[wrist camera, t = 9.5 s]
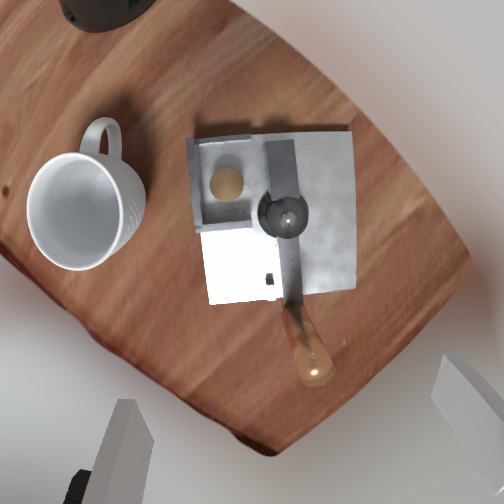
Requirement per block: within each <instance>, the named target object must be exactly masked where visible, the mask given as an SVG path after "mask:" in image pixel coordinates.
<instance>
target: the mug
mask: <svg viewBox="0 0 504 504" xmlns="http://www.w3.org/2000/svg"><path fill="white" fill-rule="evenodd" d="M105 128H106V130H107V135H108V142H109V152H108V155H106V154H102V153H99V149H100V141H101V136H102V133H103V131H104V129H105ZM121 154H122V138H121V131H120V127H119V125H118V123H117V122H116V121H115V120H114V119H112V118H107V117H102V118H98V119H96V120H95V121H93V122H92V123H91V124H90V126H89V127H88V129H87V130H86V132H85V134H84V136H83V139H82V142H81V145H80V152H70V153H65V154H61V155H58V156H56V157H54V158H52V159H51V160H49V161H48V162H47V163H46V164H45V165H44V166H43V167H42V168H41V169H40V170H39V171H38V173H37V174H36V176H35V178H34V180H33V182H32V184H31V187H30V190H29V194H28V199H27V219H28V225H29V229H30V232H31V235H32V237H33V240H34V242H35V244H36V245H37V247H38V248H39V250H40V251H41V252H42V254H43V255H44V256H45V257H46V258H48V259H49V260H50V261H51V262H53V263H54V264H56V265H58V266H60V267H62V268H65V269H69V270H86V269H90V268H93V267H95V266H97V265H99V264H101V263H102V262H104V261H105V260H106V259H107V258H108V257H110V256H111V255H113V254H114V253H115V252H116V251H118V250H119V249H120V248H121V247H122V246H124V244H125V243H126V242H128V241H129V239H130V238H131V237H132V236H133V234H134V232H135V231H136V230H137V228H138V227H139V225H140V223H141V221H142V218H143V215H144V211H145V206H146V195H145V194H146V193H145V189H144V185H143V183H142V181H141V179H140V177H139V176H138V174H137V173H136V172H135V171H134V170H133V168H131V167H130V166H129V165H128V164H126V163H125V162H123V161H122V160H121Z"/></svg>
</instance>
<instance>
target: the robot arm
mask: <svg viewBox="0 0 504 504" xmlns="http://www.w3.org/2000/svg"><path fill="white" fill-rule="evenodd" d="M155 1H156V0H59V2H60V6H61V9H62V12H63V14H64V16H65V18H66V19H67V20H68V21H69V22H70V23H71V24H72V25H74V26H75V27H76V28H78V29H79V30H82V31H85V32H91V33H99V32H106V31H110V30H113V29H116V28H119V27H121V26H124V25H126V24H128V23H129V22H131V21H133V20H134V19H136V18H138V17H139V16H140V15H142V14H143V13H144V12H145V11H146V10H147V9H148V8H149V7H150V6H151V5H152V4H153V3H154V2H155ZM431 400H432V401H433V402H434V404H435V405H436V407H437V408H438V409H439V411H440V412H441V414H442V415H443V417H444V418H445V419H446V421H447V422H448V423H449V425H450V426H451V428H452V430H453V431H454V432H455V434H456V435H457V437H458V438H459V440H460V441H461V443H462V444H463V446H464V447H465V449H466V450H467V452H468V453H469V455H470V456H471V458H472V459H473V461H474V462H475V464H476V466H477V467H478V469H479V470H480V472H481V473H482V475H483V476H484V478H485V480H486V481H487V483H488V484H489V486H490V488H491V489H492V490H493V492H494V494H495V495H496V494H498V493H499V492H501V491H502V490H504V400H503V399H502V398H501V397H500V395H499V394H498V393H497V392H496V391H495V390H494V389H493V388H492V387H491V386H490V384H489V383H488V382H486V380H485V379H484V378H483V377H482V376H481V375H480V374H479V373H478V372H477V371H476V370H475V369H474V367H472V366H471V364H470V363H469V362H468V361H467V360H466V359H465V358H464V357H463V356H462V355H461V354H460V353H459V352H458V351H457V350H453V351H450V352H447V353H444V354H443V358H442V361H441V365H440V368H439V372H438V375H437V379H436V382H435V385H434V389H433V392H432V395H431ZM153 443H154V440H153V438H152V436H151V434H150V432H149V430H148V428H147V426H146V423H145V421H144V419H143V417H142V415H141V413H140V410H139V408H138V406H137V403H136V401H135V400H134V399H133V400H132V399H131V400H129V399H118V401H117V403H116V406H115V408H114V411H113V414H112V416H111V419H110V422H109V424H108V427H107V430H106V433H105V435H104V438H103V441H102V444H101V446H100V449H99V452H98V455H97V458H96V461H95V464H94V467H93V469H92V471H88V470H82V469H80V470H79V471H78V472H77V474H76V475H75V476H74V477H73V478H72V480H71V483H70V485H69V488H68V490H69V491H67V494H66V497H65V500H64V503H63V504H142V499H143V493H144V488H145V483H146V478H147V472H148V467H149V462H150V457H151V453H152V448H153Z"/></svg>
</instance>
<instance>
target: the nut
mask: <svg viewBox="0 0 504 504" xmlns="http://www.w3.org/2000/svg"><path fill="white" fill-rule="evenodd" d="M209 186H210V191H211V193H212V195H213V196H214V197H215V198H216V199H218V200H220V201H223V202H230V201H233V200H235V199H237V198H238V197H239V196H240V195H241V193H242V191H243V188H244V181H243V178H242V176H241V175H240V173H239V172H238V171H236V170H235V169H232V168H222V169H219V170H218V171H216V172H215V173H214V174H213V175H212V177H211V179H210V184H209Z"/></svg>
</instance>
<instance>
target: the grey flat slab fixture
mask: <svg viewBox="0 0 504 504" xmlns="http://www.w3.org/2000/svg"><path fill="white" fill-rule="evenodd" d="M288 139H294V145H295V154H296V163H297V173H298V182H299V192H300V198H297V200H298V201H300V202H301V203H302V204H303V205H304V206H305V207H306V209H307V211H308V216H309V219H308V224H307V227H306V229H305V230H304V232H303V233H302V234H300V235H299V246H300V259H301V273H302V288H303V295H305V294H313V293H322V292H329V291H337V290H345V289H352V288H356V193H355V172H354V156H353V142H352V132H345V131H338V132H294V133H274V134H258V135H251V134H241V135H230V136H220V137H211V138H202V139H195V138H194V137H192V138H186V146H187V157H188V167H189V177H190V187H191V196H192V205H193V213H194V222H195V230H196V233H201V240H202V248H203V255H204V263H205V270H206V278H207V285H208V292H209V299H210V304H218V303H229V302H240V301H250V300H260V299H267V300H268V301H272V300H276V298H279V297H282V296H281V285H280V274H279V264H278V254H277V244H276V235H275V234H274V233H273V232H272V231H271V229H270V228H269V226H268V224H267V222H266V220H265V209H266V207H267V205H268V203H269V202H270V201H271V200H270V199H269V193H268V184H267V176H266V167H265V158H264V150H263V143H264V142H266V141H276V140H288ZM222 168H232V169H235V170H236V171H238V172H239V173H240V175H241V176H242V178H243V181H244V188H243V191H242V193H241V195H240V196H239V197H238V198H237V199H235V200H233V201H230V202H223V201H220V200H218V199H216V198H215V197H214V196H213V195H212V193H211V191H210V186H209V184H210V179H211V177H212V175H213V174H214V173H215V172H216V171H218V170H219V169H222Z"/></svg>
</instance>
